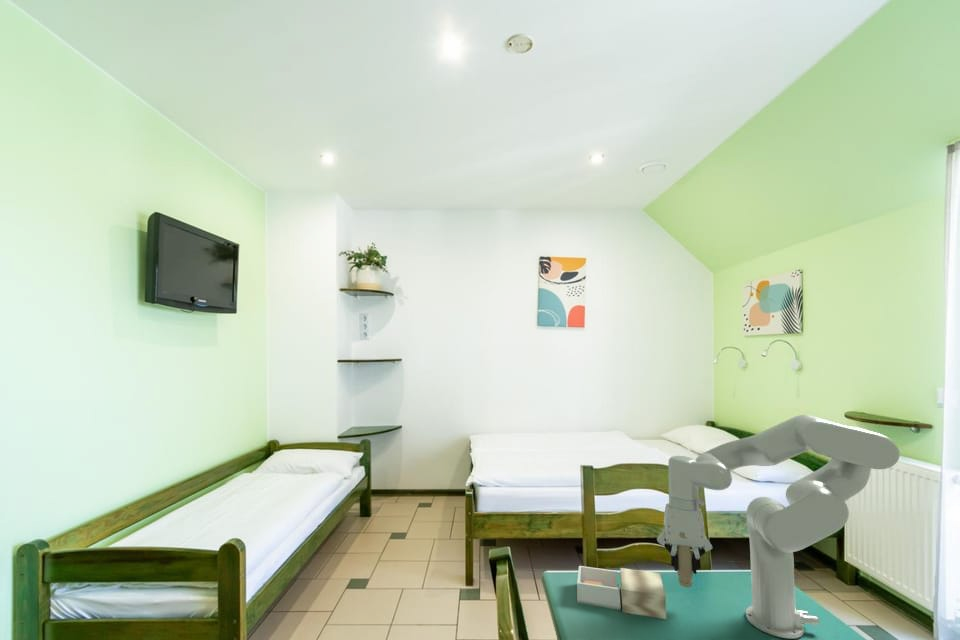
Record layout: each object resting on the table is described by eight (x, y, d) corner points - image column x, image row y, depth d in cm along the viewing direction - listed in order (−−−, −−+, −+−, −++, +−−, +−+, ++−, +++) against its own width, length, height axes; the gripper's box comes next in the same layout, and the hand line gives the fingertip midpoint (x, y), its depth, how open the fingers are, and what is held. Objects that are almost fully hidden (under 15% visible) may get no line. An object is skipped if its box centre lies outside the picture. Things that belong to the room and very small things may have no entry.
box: (619, 589, 128) (618, 571, 129) (620, 609, 118) (620, 589, 119) (579, 584, 131) (579, 565, 132) (577, 602, 122) (577, 583, 122)
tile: (584, 580, 128) (584, 589, 128) (584, 589, 123) (584, 598, 123) (601, 582, 126) (601, 591, 126) (602, 591, 122) (602, 601, 121)
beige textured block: (660, 594, 126) (659, 573, 126) (666, 619, 114) (665, 595, 115) (620, 588, 129) (620, 567, 129) (622, 612, 117) (622, 589, 118)
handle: (701, 590, 116) (698, 533, 117) (676, 589, 117) (673, 532, 118) (694, 581, 121) (691, 526, 122) (670, 579, 122) (668, 525, 123)
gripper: (713, 501, 122) (714, 568, 121) (650, 494, 126) (650, 559, 125) (720, 510, 115) (722, 582, 113) (653, 503, 119) (653, 572, 118)
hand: (684, 569), depth 119 cm, fingers closed on handle, 4 cm apart
